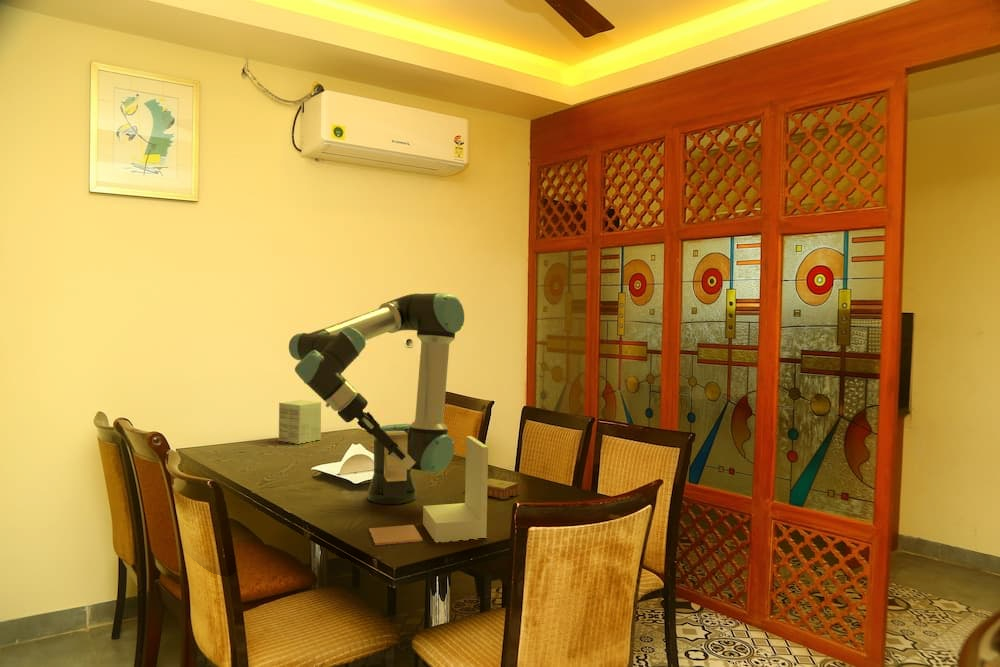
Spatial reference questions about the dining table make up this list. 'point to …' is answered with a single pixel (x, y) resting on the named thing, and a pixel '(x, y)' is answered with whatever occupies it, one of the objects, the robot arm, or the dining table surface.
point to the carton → (501, 488)
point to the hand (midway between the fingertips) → (409, 463)
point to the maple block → (391, 464)
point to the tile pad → (395, 535)
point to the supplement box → (299, 421)
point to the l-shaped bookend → (467, 516)
